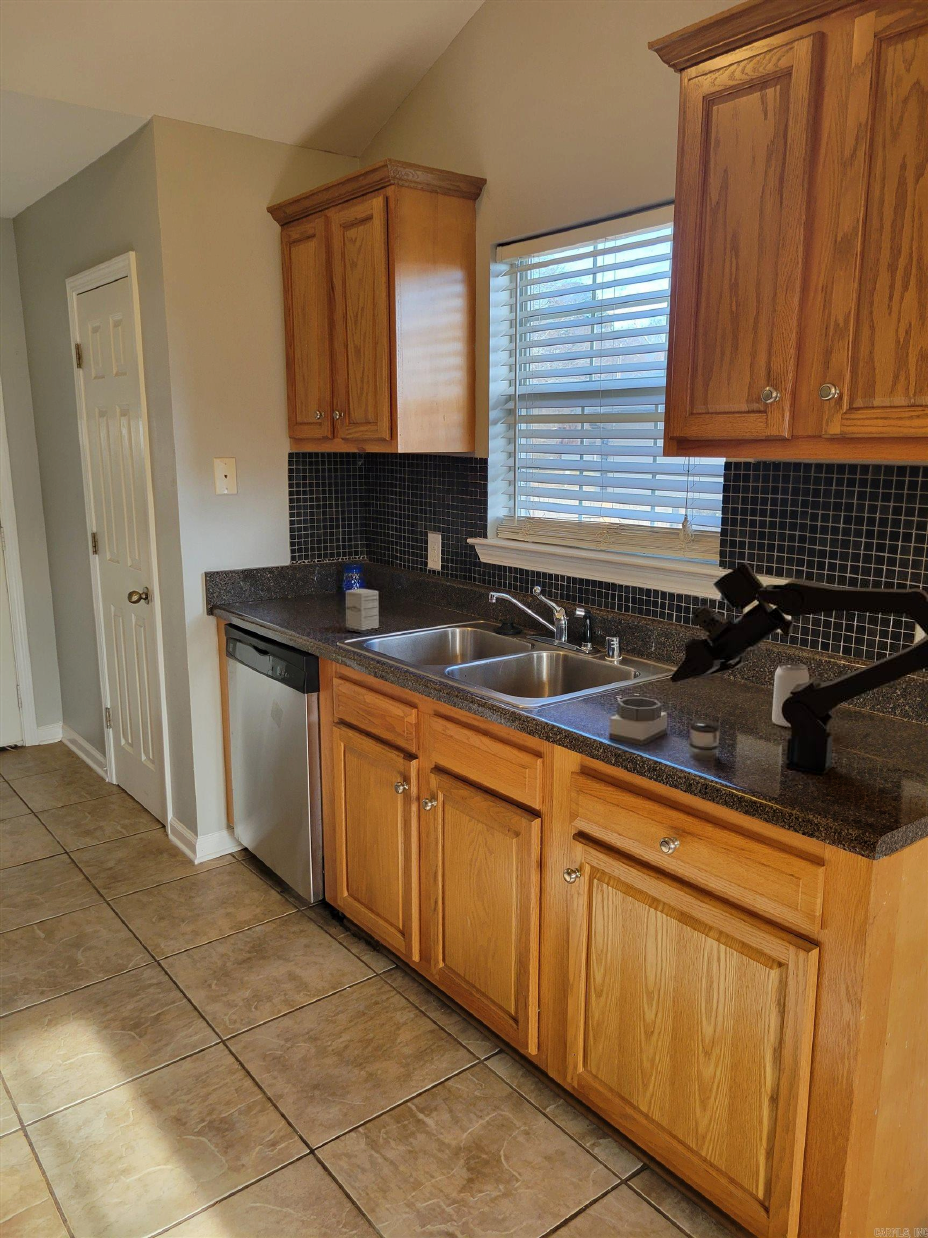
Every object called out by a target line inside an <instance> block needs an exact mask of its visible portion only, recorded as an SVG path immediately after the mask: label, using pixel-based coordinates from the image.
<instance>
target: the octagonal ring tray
mask: <svg viewBox="0 0 928 1238" xmlns="http://www.w3.org/2000/svg"><path fill="white" fill-rule="evenodd" d="M616 705H617V707H616V709H617V710H616V711H617V712H616V715H614V716H613V715H612V716H611V717H609V733H608V739H614V740H617V741H621V742H626V743H631V744H635V745H640V746H643V745H645V744H647V743H649V742H651V741H653V740H655V739H658V738H659V737H661V736H663V735H665V734H666V733H668V732H667V730H668V724H667V722H668V713H667V712H663V711H662V703H661V702H659V701H658V700H656V699H652V698H647V697H636V696H635V697H624V698H621V699H619V700H618V701H617V703H616Z"/></svg>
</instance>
